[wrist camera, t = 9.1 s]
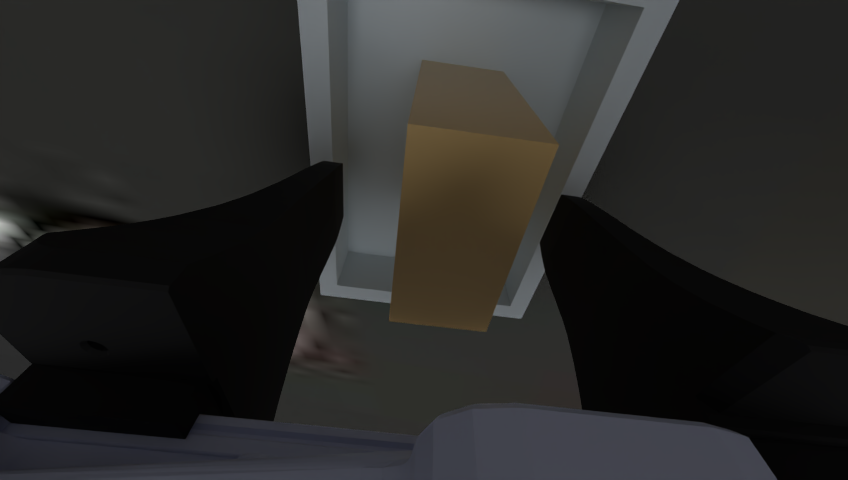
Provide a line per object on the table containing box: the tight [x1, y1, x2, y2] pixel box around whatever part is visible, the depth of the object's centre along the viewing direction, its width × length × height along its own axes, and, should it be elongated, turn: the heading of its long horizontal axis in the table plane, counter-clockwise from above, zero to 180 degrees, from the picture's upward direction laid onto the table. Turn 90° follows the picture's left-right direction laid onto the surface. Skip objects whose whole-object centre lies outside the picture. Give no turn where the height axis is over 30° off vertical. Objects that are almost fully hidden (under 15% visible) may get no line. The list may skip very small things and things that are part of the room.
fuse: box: [389, 60, 559, 332], centre depth 11 cm, size 3×6×7 cm, turn 173°
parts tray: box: [297, 0, 679, 319], centre depth 13 cm, size 10×14×3 cm
